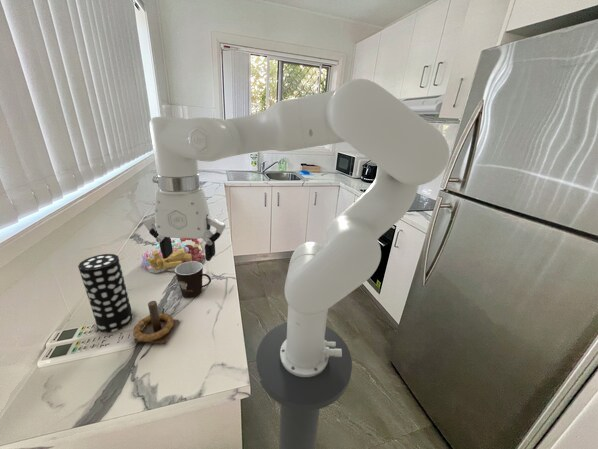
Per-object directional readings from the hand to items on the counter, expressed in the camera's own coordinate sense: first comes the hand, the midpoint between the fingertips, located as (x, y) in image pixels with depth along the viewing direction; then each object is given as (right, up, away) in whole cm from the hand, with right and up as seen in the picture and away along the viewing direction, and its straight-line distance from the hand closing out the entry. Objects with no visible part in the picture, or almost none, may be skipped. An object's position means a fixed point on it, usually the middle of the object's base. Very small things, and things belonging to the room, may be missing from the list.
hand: (189, 257), depth 56 cm
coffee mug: (-11, -17, +28) cm, 35 cm away
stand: (-14, -23, +12) cm, 29 cm away
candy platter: (-29, -8, +50) cm, 58 cm away
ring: (-15, -21, +12) cm, 28 cm away
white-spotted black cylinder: (-28, -21, +15) cm, 38 cm away
